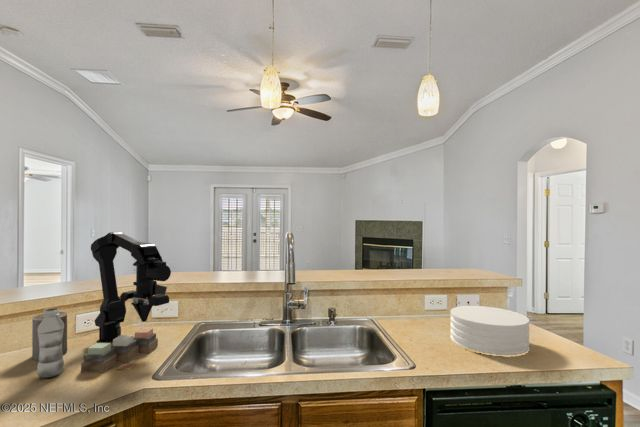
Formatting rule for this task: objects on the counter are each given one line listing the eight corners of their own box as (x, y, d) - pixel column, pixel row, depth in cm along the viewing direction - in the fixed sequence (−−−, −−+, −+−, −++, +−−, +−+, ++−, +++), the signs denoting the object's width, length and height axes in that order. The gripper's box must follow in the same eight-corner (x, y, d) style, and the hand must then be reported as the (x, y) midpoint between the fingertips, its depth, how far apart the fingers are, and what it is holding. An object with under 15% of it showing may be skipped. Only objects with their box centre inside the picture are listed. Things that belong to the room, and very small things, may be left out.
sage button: (87, 356, 110) (88, 348, 110) (96, 350, 115) (96, 342, 115) (102, 356, 110) (102, 348, 110) (110, 350, 115) (110, 342, 115)
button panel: (81, 372, 109) (81, 356, 109) (119, 346, 131) (120, 332, 131) (126, 372, 109) (126, 356, 109) (157, 346, 131) (157, 332, 131)
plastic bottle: (69, 372, 108) (70, 307, 108) (45, 382, 102) (47, 313, 102) (54, 369, 110) (55, 306, 111) (30, 378, 104) (32, 311, 104)
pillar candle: (55, 347, 128) (55, 307, 128) (73, 351, 125) (73, 309, 125) (25, 358, 119) (25, 314, 119) (43, 362, 116) (43, 317, 116)
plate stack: (449, 350, 131) (449, 319, 131) (451, 328, 157) (451, 303, 157) (535, 363, 120) (536, 329, 121) (522, 337, 146) (523, 310, 146)
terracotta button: (134, 339, 125) (134, 332, 125) (140, 335, 130) (140, 328, 130) (147, 339, 125) (147, 332, 125) (153, 335, 130) (153, 328, 130)
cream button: (112, 347, 118) (112, 339, 118) (120, 342, 122) (120, 335, 122) (126, 347, 118) (126, 339, 118) (133, 342, 122) (133, 335, 122)
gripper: (181, 277, 132) (180, 319, 131) (145, 273, 139) (144, 312, 139) (156, 282, 121) (155, 327, 121) (119, 277, 129) (118, 320, 129)
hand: (144, 321), depth 128 cm, fingers closed
